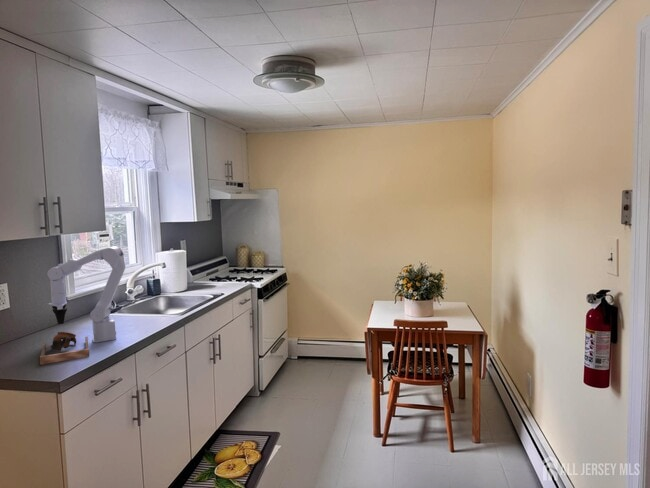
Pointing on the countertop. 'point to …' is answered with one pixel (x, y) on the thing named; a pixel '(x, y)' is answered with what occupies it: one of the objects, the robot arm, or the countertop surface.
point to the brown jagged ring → (63, 340)
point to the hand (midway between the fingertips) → (60, 322)
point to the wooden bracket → (63, 354)
